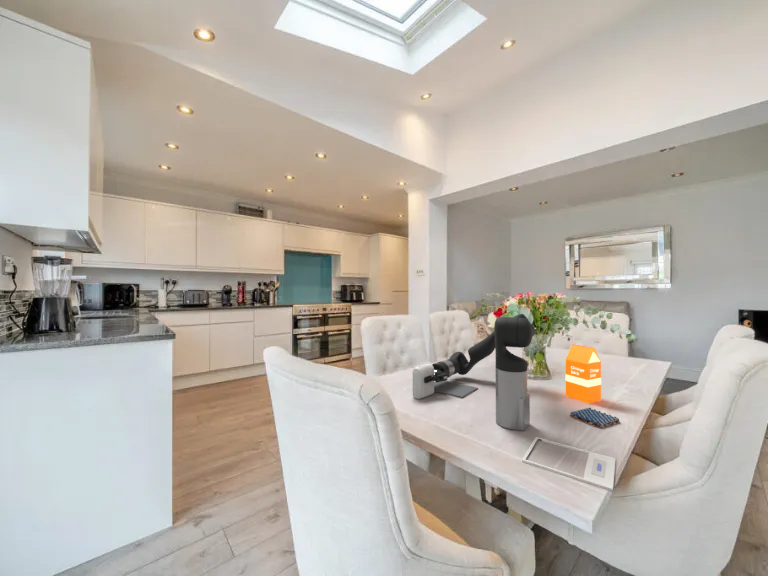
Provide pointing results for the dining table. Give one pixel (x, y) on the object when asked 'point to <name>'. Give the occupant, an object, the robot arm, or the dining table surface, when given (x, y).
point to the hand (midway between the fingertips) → (419, 379)
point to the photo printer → (422, 381)
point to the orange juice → (583, 374)
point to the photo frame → (596, 468)
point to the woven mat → (594, 418)
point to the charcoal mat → (453, 388)
